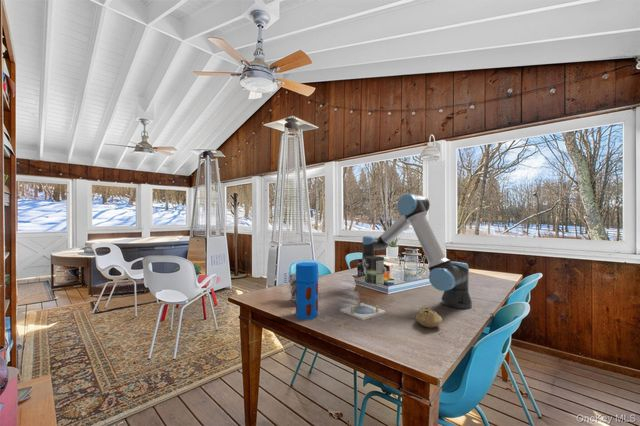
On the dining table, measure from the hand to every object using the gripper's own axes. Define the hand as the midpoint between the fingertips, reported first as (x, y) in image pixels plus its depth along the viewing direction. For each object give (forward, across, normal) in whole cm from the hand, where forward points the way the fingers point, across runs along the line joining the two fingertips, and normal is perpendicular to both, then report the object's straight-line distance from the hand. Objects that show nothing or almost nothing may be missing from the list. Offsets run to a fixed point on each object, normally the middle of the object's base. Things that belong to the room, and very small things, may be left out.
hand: (375, 271), depth 154 cm
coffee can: (-4, 0, -8) cm, 9 cm away
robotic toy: (-7, +42, -19) cm, 47 cm away
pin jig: (+8, +7, -19) cm, 22 cm away
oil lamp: (+22, -20, -19) cm, 36 cm away
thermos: (+14, +35, -19) cm, 42 cm away
